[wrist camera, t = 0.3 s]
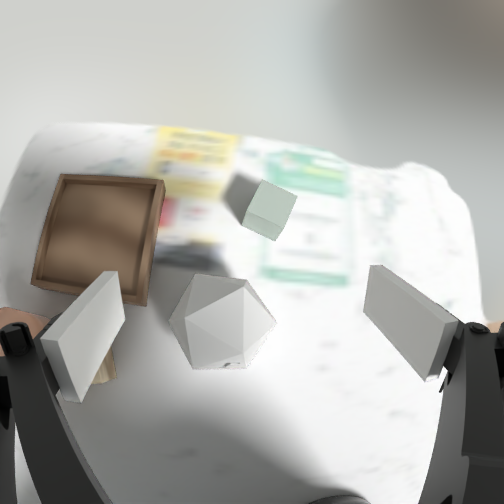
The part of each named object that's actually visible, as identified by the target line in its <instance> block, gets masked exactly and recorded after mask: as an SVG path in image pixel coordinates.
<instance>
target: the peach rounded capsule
mask: <svg viewBox="0 0 504 504" xmlns="http://www.w3.org/2000/svg"><path fill="white" fill-rule="evenodd" d="M49 321H50V319H49V318H47V317H44V316H40V315H36V314H32V313H28V312H24V311H20V310H16V309H12V308H8V307H3V308H0V329H1V328H2V327H4V326H5V325H8V324H10V323H14V322H24V323H26V324H27V325H28V327H29V330H30V333H31V336H32V339H34V338H35V336H36V335H37V334H38V333H39V332H40V331H41V330H43V328H44V327H45V326H46V325H47V323H48V322H49ZM0 356H5V354H4V352H3V349H2V347H1V344H0Z"/></svg>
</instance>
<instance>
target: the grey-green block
mask: <svg viewBox="0 0 504 504" xmlns="http://www.w3.org/2000/svg"><path fill="white" fill-rule="evenodd" d="M297 197H298V196H296V195H294V194H292V193H290V192H288V191H286V190H284V189H282V188H280V187H277V186H275V185H273V184H271V183H269V182H267V181H265V180H263V179H262V181H261V183H260V185H259V187H258V189H257V191H256V193H255V195H254V197H253V199H252V201H251V203H250V205H249V206H248V208H247V210H246V213H245V217H244V220H243V223H242V226H243V227H246V228H248V229H250V230H252V231H254V232H256V233H258V234H260V235H262V236H265V237H267V238H269V239H271V240H273V241H276V239H277V238H278V236H279V235H280V233H281V232H282V230H283V229H284V227H285V225H286V222H287V220H288V218H289V215H290V213H291V211H292V208H293V206H294V204H295V201H296V199H297Z"/></svg>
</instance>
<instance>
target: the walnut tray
mask: <svg viewBox="0 0 504 504" xmlns="http://www.w3.org/2000/svg"><path fill="white" fill-rule="evenodd" d="M165 191H166V190H165V186H164V181H163V180H156V179H144V178H130V177H114V176H96V175H71V174H61V175H60V177H59V180H58V183H57V186H56V188H55V191H54V194H53V197H52V200H51V203H50V207H49V210H48V213H47V216H46V220H45V223H44V227H43V230H42V234H41V238H40V242H39V246H38V250H37V254H36V259H35V264H34V268H33V273H32V278H31V284H32V285H34V286H36V287H39V288H41V289H46V290H51V291H56V292H61V293H66V294H72V295H77V296H80V295H81V294H82V293H83V292H84V291H85V290H86V289H87V288H88V287H89V286H90V285H91V284H92V283H93V282H94V281H95V280H96V279H97V278H98V277H99V276H100V275H101V274H102V273H103V272H104V271H118V278H119V285H120V291H121V297H122V303H125V304H132V305H139V306H146V304H147V296H148V288H149V281H150V274H151V268H152V261H153V255H154V249H155V243H156V237H157V232H158V226H159V221H160V216H161V211H162V206H163V201H164V196H165Z"/></svg>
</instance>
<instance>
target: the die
mask: <svg viewBox="0 0 504 504" xmlns="http://www.w3.org/2000/svg"><path fill="white" fill-rule="evenodd" d="M168 322H169V324H170V326H171V328H172V330H173V332H174V334H175V336H176V338H177V340H178V342H179V344H180V346H181V348H182V350H183V352H184V354H185V356H186V357H187V359H188V361H189V363H190V365H191V367H192V369H245V368H247V367H248V366H249V364H250V363H251V361H252V360H253V358H254V357H255V355H256V354H257V352H258V351H259V349H260V348H261V346H262V345H263V343H264V342H265V340H266V339H267V337H268V336H269V334H270V333H271V331H272V330H273V328H274V327H275V325H276V323H277V322H276V321H275V319H274V318H273V316H272V315H271V313H270V312H269V311H268V309H267V308H266V306H265V305H264V303H263V302H262V301H261V299H260V298H259V296H258V295H257V294H256V292H255V291H254V289H253V288H252V286H251V285H250V283H249V282H248V281H247V280H244V279H236V278H228V277H220V276H212V275H205V274H197V273H195V275H194V276H193V278H192V280H191V282H190V283H189V285H188V287H187V288H186V290H185V292H184V294H183V295H182V297H181V299H180V301H179V303H178V304H177V306H176V308H175V310H174V311H173V313H172V315H171V317H170V319H169V320H168Z"/></svg>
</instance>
